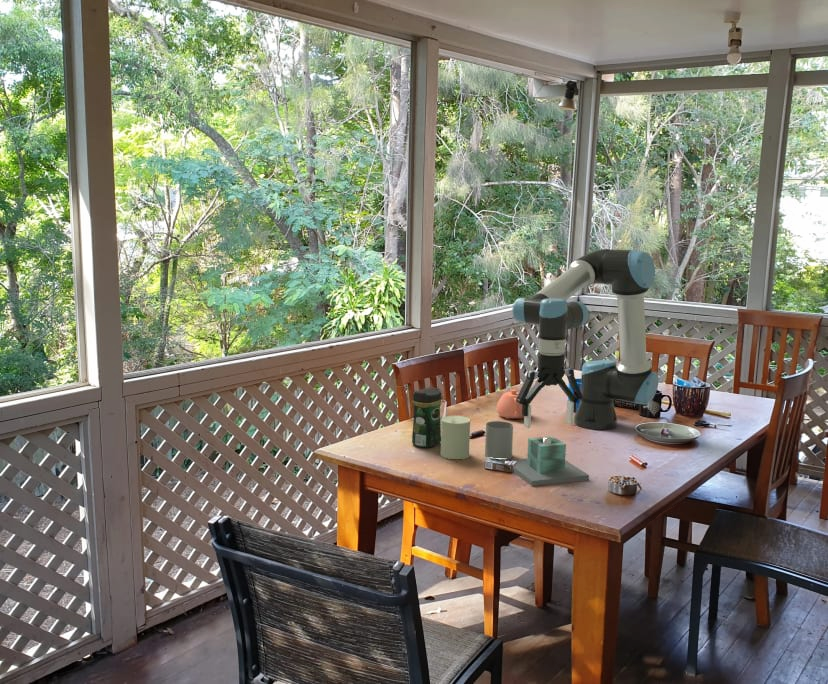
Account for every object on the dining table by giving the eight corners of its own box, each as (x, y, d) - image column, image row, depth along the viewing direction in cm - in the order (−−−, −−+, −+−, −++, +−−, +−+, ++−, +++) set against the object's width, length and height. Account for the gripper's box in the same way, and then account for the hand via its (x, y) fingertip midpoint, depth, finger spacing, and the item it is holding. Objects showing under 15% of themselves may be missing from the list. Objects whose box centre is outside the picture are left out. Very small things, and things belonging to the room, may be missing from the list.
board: (558, 460, 236) (558, 455, 235) (588, 480, 219) (589, 475, 218) (504, 465, 230) (504, 460, 230) (531, 486, 213) (532, 480, 213)
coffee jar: (424, 438, 256) (426, 384, 252) (444, 443, 251) (445, 387, 248) (407, 445, 248) (408, 389, 245) (427, 450, 243) (428, 393, 240)
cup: (484, 451, 243) (485, 420, 242) (510, 451, 243) (511, 421, 241) (485, 459, 235) (487, 428, 233) (512, 460, 235) (514, 429, 233)
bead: (551, 462, 229) (552, 436, 228) (564, 470, 222) (566, 444, 220) (527, 464, 227) (528, 438, 225) (539, 473, 219) (540, 446, 218)
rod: (547, 466, 226) (549, 436, 224) (551, 468, 223) (553, 438, 222) (540, 466, 225) (541, 437, 223) (544, 469, 223) (545, 439, 221)
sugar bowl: (526, 412, 291) (527, 386, 289) (533, 422, 277) (534, 395, 275) (494, 412, 291) (495, 385, 289) (499, 422, 277) (500, 394, 275)
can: (435, 457, 236) (436, 419, 234) (445, 449, 245) (446, 412, 243) (464, 461, 233) (465, 423, 231) (473, 452, 241) (474, 415, 239)
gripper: (517, 358, 211) (514, 432, 215) (597, 353, 219) (593, 425, 222) (505, 352, 218) (503, 424, 222) (583, 348, 226) (579, 418, 229)
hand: (548, 425), depth 222 cm, fingers open, 13 cm apart
